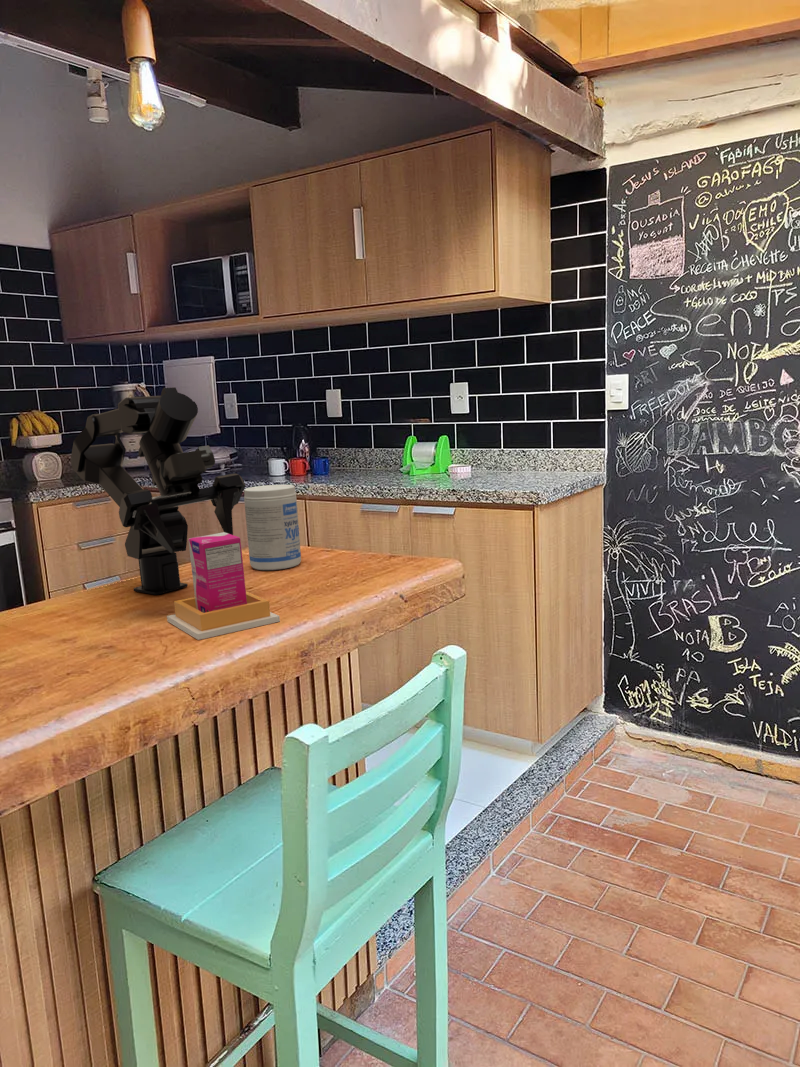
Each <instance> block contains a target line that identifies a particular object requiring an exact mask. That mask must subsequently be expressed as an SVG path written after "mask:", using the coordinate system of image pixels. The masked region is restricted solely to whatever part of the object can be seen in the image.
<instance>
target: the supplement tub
mask: <svg viewBox="0 0 800 1067" xmlns="http://www.w3.org/2000/svg"><path fill="white" fill-rule="evenodd" d="M243 493H244V497H243V500H244V502H243V503H244V513H245V515H244V516H245V524H246V534H247V536H246V537H247V544H248V545H247V546H248V557H249V558H248V559H249V564H250V566H251V568H253V569H254V570H258V571H278V570H284V569H285V570H286V569H290V568H293V567H296V566H298V565H299V564H300V563H301V562H302V553H301V550H302V549H301V540H300V528H299V527H300V526H299V525H300V524H299V514H298V501H297V498H298V497H297V493H296V486H295V485H294V484H267V485H266V484H265V485H259V486H258V485H257V486H251V487H247V488H246V487H245V488H244V490H243Z"/></svg>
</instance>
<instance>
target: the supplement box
mask: <svg viewBox="0 0 800 1067" xmlns="http://www.w3.org/2000/svg"><path fill="white" fill-rule="evenodd" d="M241 541H242V540H241V537H240V536H237V535H234V534H233V535H231V534H228V533H225V532H224V531H223V532H219V533H212V534H207V535H201V536H194V537H190V538H187V542H188V549H189V556H190V558H189V559H190V565H191V575H192V584H193V591H194V592H193V593H194V594H193V595H194V597H195V602H196V609H197V610H199V611H201V612H203V613H206V612H210V611H215V610H220V609H225V608H230V607H234V606H239V605H244V604H247V597H246V591H247V590H246V580H245V570H244V561H243V553H242V552H243V551H242V543H241Z"/></svg>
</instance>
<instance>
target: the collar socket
mask: <svg viewBox="0 0 800 1067" xmlns="http://www.w3.org/2000/svg"><path fill="white" fill-rule="evenodd" d="M246 597H247V604H244V605H239V606H234V607H230V608H225V609H220V610H215V611H210V612H206V613H203V612H201V611H199V610H197V609H196V602H195V596H193V597H189V598H185V599H184V598H183V599H179V600H174V601H173V604H174V614H171V615H170V614H168V615H166V619H167V620H166V621H167V622H168V623H170V624H171V625H173V626H174V627H176V628H178V629H179V630H180V631H182V632H184V633H186V634H187V635H189V636H191V637H193V638H194V639H196V640H197V641H200V640H204V639H208V638H209V639H210V638H213V637H217V636H222V635H227V634H231V633H234V632H235V633H236V632H239V631H244V630H248V629H249V630H250V629H253V628H256V627H257V628H258V627H262V626H266V625H270V624H274V623H279V622H281V617H280V615H279V614H276V613H273V612H271V608H270V600H268V599H266V598H263V597H261V596H258V595H256V594H253V593H251V592H250V591H249V592H248V591H247V590H246Z"/></svg>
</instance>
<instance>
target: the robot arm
mask: <svg viewBox="0 0 800 1067" xmlns="http://www.w3.org/2000/svg"><path fill="white" fill-rule="evenodd" d="M198 412H199V408H198V404H197V402H196V401H194V400H193V399H192V398H191V397H189V396H188V395H185V394H184V393H181V392H178V390H177V387H163V388H162V390H161V393H160V395H152V396H150V395H149V396H132V397H131V396H130V397H124V398H123V399H122V400H121V401H120V402H118V404H117V408H115V409H113V410H108V411H105V412H101V413H94V414H93V413H92V414H91V415H89V416H87V419H86V423H85V427H84V428H83V430H82V431H81V432H79V434H78V435H77V436H75V439H73V445H72V448H71V456H70V462H71V468H72V470H73V472H75V474H76V475H77V476H78V477H79V478H80V479H81V480H83V481H85V482H86V483H90V484H95V485H99V486H100V487H101V488H102V489H103V490H104V491H105V492H106V493H107V494H108V496H109V498H111V500H113V501H114V502H115V504H116V505H117V506H118V507H119V510H118V516H119V520H120V523H121V524H122V527H124V528H129V530H128V534H127V536H126V538H125V542H124V546H125V547H124V548H125V551H126V555H127V557H130V558H133V559H135V560H138V567H139V568H138V569H139V576H140V577H139V578H140V585H139V586H136V587H133V591H134V592H138V593H144V594H148V595H153V596H155V595H156V596H157V595H163V594H165V593H168V592H173V591H177V590H180V589H183V588H187V587H188V583H186V582H181V579H180V568H179V562H178V557H177V553H178V552H184V551H187V545H188V530H189V528H188V527H189V525H188V523H187V520H186V517H185V516H184V515H183V514H182V512H181V511H179V508H180V506H186V505H189V504H195V503H196V504H197V503H200V502H201V503H202V502H206V501H207V502H208V501H211V504H212V506H213V507H215V509H214V511H213V512H214V515H215V516H216V518H217V521H218V522H219V525H220V526H221V528H222V531H223V532H225V533H228V534H231V535H234V530H233V529H234V528H233V526H234V525H233V509H234V507H235V506H236V505H238V504H239V502H240V500H241V497H242V495H243V493H244V490H245V489H246V484H245V481H244V479H243V477H242V476H241V475H240V474H238V473H230V474H225V475H218V476H215V477H214V481H213V482H212V486H206V487H202V488H200V487H199V484H202V482H203V477H202V474H203V473H205V472H207V469H212V467H213V466H215V465H216V459H215V454H214V452H213V450H212V449H211V447H210V445H202V446H198V447H197V449H195V450H192V451H183V448H182V447H181V445H180V443H182V442H184V441H185V440H186V439H187V437H188V436H189V435H188V434H189V433H190V430H191V429H192V426H193V424H194V422H195V420H196V417H197V415H198ZM122 433H126V434H134V435H135V434H142V435H141V437H140V439H139V442H138V443H139V444H138V445H139V448H138V457H140V458H145V461H146V463H147V466H148V468H149V470H150V473H151V476H152V478H151V481H152V485H153V486H156V487H157V490H158V493H159V495H156V496H153V495H152V492H151V490H150V489H147V488H145V489H143V488H142V486H141V485H139V483H138V482H137V481H136V480H135V479H134V478H133V477H132V476H131V475H130V474H129V472H128V471H127V470H126V469H125V468H123V466H124V465H123V464H124V459H125V455H126V449H127V448H126V447H125V445H124V443H123V441H122V440H121V439H122V438H120V437H121V434H122ZM112 436H114V437H115V442H114V443H104V444H93V443H94V442H95V441H96V439H97V438H99V437H101V438H102V437H112Z"/></svg>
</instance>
